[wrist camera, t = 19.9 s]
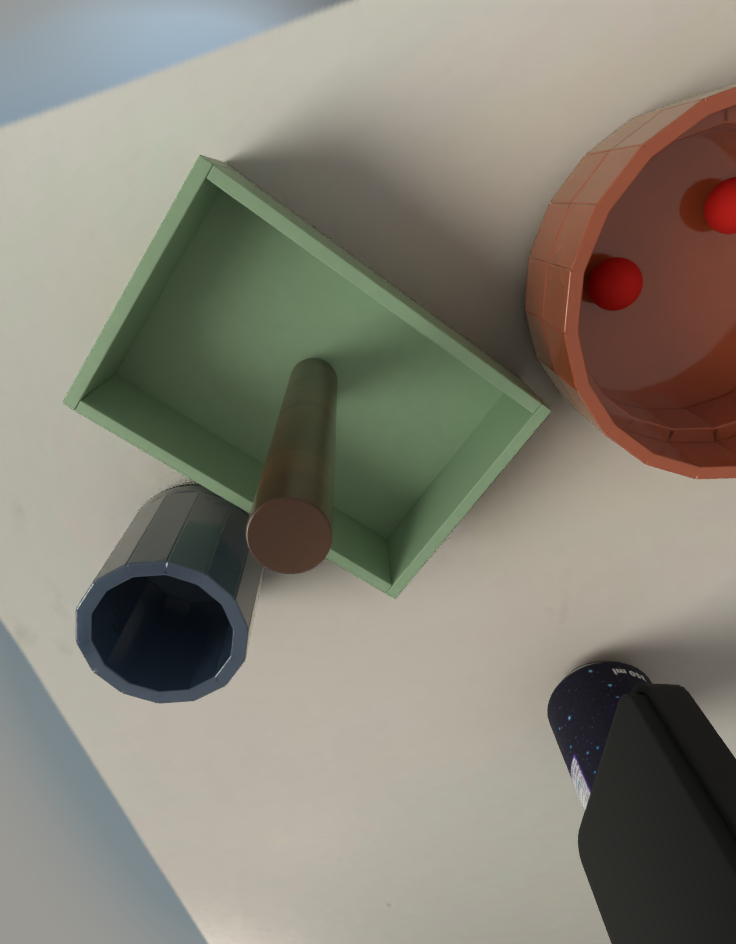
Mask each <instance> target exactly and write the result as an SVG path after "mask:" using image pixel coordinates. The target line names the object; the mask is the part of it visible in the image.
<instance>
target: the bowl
mask: <svg viewBox="0 0 736 944" xmlns="http://www.w3.org/2000/svg"><path fill="white" fill-rule="evenodd" d="M732 177H736V84H733V85H729V86H726V87H723V88H719V89H716V90H712V91H709V92H705V93H702V94H698V95H695V96H691V97H688V98H685V99H682V100H680V101H677V102H674V103H672V104H669V105H666V106H663V107H661V108H658V109H655V110H652V111H650V112H647V113H644V114H641V115H639V116H636V117H635V118H632V119H631V120H630V121H628V122H627V123H626V124H624V125H623V126H622V127H620V128H619V129H618V130H617V131H615V132H614V133H613V134H611V135H610V136H609V137H607V138H606V139H605V140H603V141H602V142H601V143H599V144H598V145H597V146H596V147H594V148H593V149H592V150H590V151H589V152H588V153H587V154H586V156H584V157H583V159H582V160H581V161H580V163H579V164H578V165H577V167H576V168H575V169H574V171H573V172H572V173H571V175H570V176H569V177H568V179H567V180H566V181H565V183H564V184H563V185H562V187H561V188H560V189H559V191H558V192H557V193H556V195H555V196H554V197H553V199H552V200H551V204H549V205H548V208H547V211H546V213H545V216H544V219H543V221H542V224H541V226H540V229H539V232H538V234H537V237H536V239H535V242H534V245H533V247H532V250H531V253H530V257H529V260H528V273H527V287H526V300H525V309H526V311H525V313H526V317H527V321H528V325H529V329H530V333H531V337H532V342H533V346H534V350H535V354H536V356H537V359H538V361H539V362H540V364H541V365H542V367H543V368H544V370H545V371H546V373H547V374H548V376H549V377H550V379H551V381H552V382H553V384H554V385H555V387H556V388H557V390H558V391H559V393H560V394H561V395H562V396H563V397H564V398H565V399H566V400H567V401H568V402H570V403H571V404H572V405H573V406H574V407H575V408H576V409H577V410H578V411H579V412H581V413H582V414H583V415H584V416H585V417H586V418H587V419H588V420H589V421H590V422H592V423H593V424H594V425H595V426H596V427H597V428H598V429H599V430H600V431H601V432H603V433H604V434H605V435H606V436H607V437H609V438H610V439H611V440H613V441H614V442H615V443H617V444H618V445H620V446H621V447H622V448H624V449H625V450H626V451H628V452H629V453H630V454H632V455H633V456H635V457H636V458H637V459H639V460H640V461H641V462H643V463H644V464H646V465H649V466H652V467H656V468H659V469H662V470H666V471H669V472H673V473H676V474H680V475H683V476H686V477H690V478H693V479H718V478H736V234H722V233H719V232H717V231H715V230H713V229H712V228H711V227H710V226H709V225H708V223H707V222H706V219H705V216H704V205H705V201H706V199H707V197H708V195H709V193H710V192H711V191H712V189H713V188H714V187H715V186H717V185H718V184H719V183H721V182H722V181H724V180H726V179H729V178H732ZM614 257H622V258H626V259H629V260H631V261H633V262H634V263H635V264H636V265H637V266H638V267H639V269H640V271H641V273H642V276H643V287H642V290H641V293H640V295H639V297H638V298H637V299H636V300H635V302H633V303H632V304H631V305H630V306H628V307H626V308H624V309H621V310H617V311H609V310H605V309H602V308H600V307H599V306H597V305H596V304H595V303H594V302H593V301H592V299H591V297H590V295H589V291H588V282H589V278H590V276H591V273H592V272H593V270H594V269H595V268H596V267H597V266H598V265H599V264H600V263H602V262H603V261H605V260H607V259H610V258H614Z"/></svg>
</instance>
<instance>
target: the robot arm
mask: <svg viewBox="0 0 736 944" xmlns="http://www.w3.org/2000/svg"><path fill="white" fill-rule="evenodd" d="M578 847H579V854H580V858H581V862H582V865H583V867H584V870H585V873H586V875H587V878H588V881H589V884H590V886H591V889H592V892H593V894H594V897H595V900H596V903H597V905H598V908H599V911H600V913H601V916H602V919H603V922H604V924H605V927H606V930H607V932H608V935H609V938H610V940H611V943H612V944H736V759H735V757H734V756H733V754H732V753H731V752H730V750H729V749H728V747H727V746H726V744H725V743H724V742H723V740H722V739H721V737H720V736H719V735H718V733H717V732H716V730H715V729H714V727H713V726H712V725H711V723H710V722H709V720H708V719H707V718H706V716H705V715H704V713H703V712H702V711H701V709H700V708H699V706H698V705H697V703H696V702H695V701H694V699H693V698H692V696H691V695H690V694H689V692H688V691H687V690H686V689H685V688H684V687H682V686H680V685H669V684H646V683H640V684H636V685H635V686H634V687H633V688H632V690H631V692H630V694H623V695H622V696H621V697H620V699H619V701H618V704H617V708H616V711H615V714H614V718H613V721H612V724H611V727H610V731H609V734H608V737H607V741H606V744H605V747H604V750H603V754H602V757H601V760H600V763H599V767H598V770H597V773H596V777H595V780H594V783H593V786H592V790H591V793H590V796H589V799H588V803H587V806H586V809H585V813H584V816H583V819H582V822H581V826H580V829H579V834H578Z"/></svg>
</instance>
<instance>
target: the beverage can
mask: <svg viewBox="0 0 736 944" xmlns="http://www.w3.org/2000/svg"><path fill="white" fill-rule="evenodd" d="M640 683H646V684H652V683H651V681H650V680H649V678H648V677H647V676H646V675H645V674H644V673H643V672H642V671H640V670H639V669H637V668H635V667H633V666H631V665H628V664H625V663H619V662H596V663H590V664H587V665H583V666H581V667H579V668H577V669H575V670H574V671H572V672H571V673H570V674H568V675H567V676H566V677H565V678H564V680H562V681H561V682H560V684H559V685H558V686H557V687H556V688H555V690H554V691H553V693H552V695H551V697H550V700H549V703H548V719H549V722H550V725H551V728H552V730H553V733H554V735H555V738H556V740H557V743H558V745H559V748H560V750H561V753H562V755H563V758H564V761H565V763H566V766H567V768H568V771H569V773H570V776H571V778H572V781H573V783H574V786H575V788H576V791H577V794H578V796H579V799H580V801H581V804H582V806H583V809H584V811H585V809H586V806H587V803H588V799H589V796H590V793H591V790H592V786H593V783H594V780H595V777H596V773H597V770H598V767H599V763H600V760H601V757H602V754H603V750H604V747H605V744H606V741H607V737H608V734H609V731H610V727H611V724H612V721H613V718H614V714H615V711H616V708H617V704H618V701H619V699H620V697H621V696H622V695H623V694H630V692H631V690H632V688H633V687H634V686H635V685H636V684H640Z"/></svg>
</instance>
